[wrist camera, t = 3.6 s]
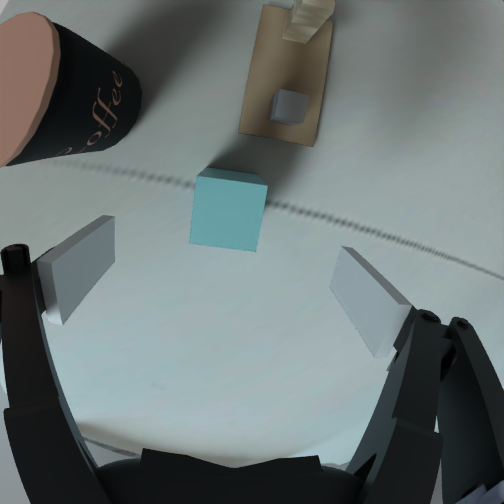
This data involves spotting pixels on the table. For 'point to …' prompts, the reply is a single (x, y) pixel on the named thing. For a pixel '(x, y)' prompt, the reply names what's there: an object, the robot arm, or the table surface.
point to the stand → (288, 72)
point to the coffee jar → (59, 92)
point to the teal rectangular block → (227, 209)
